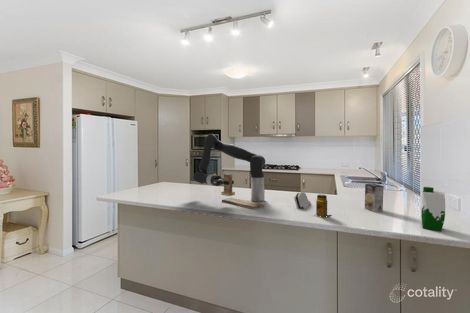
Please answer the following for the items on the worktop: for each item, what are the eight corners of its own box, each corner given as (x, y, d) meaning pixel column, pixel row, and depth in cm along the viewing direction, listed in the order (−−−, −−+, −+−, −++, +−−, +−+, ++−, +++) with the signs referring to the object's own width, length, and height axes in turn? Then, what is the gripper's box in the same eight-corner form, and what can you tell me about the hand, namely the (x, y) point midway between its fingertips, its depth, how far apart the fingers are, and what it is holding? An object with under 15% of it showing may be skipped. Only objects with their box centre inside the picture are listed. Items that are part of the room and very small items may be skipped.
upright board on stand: (227, 193, 174) (227, 173, 173) (234, 194, 169) (234, 174, 168) (221, 194, 170) (221, 174, 169) (228, 196, 165) (228, 175, 164)
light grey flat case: (304, 209, 160) (299, 194, 161) (297, 210, 163) (292, 195, 164) (311, 203, 174) (306, 189, 176) (304, 205, 177) (300, 191, 178)
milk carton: (421, 224, 130) (423, 185, 129) (444, 228, 124) (446, 187, 123) (420, 228, 123) (421, 188, 122) (443, 232, 117) (445, 190, 116)
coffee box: (363, 208, 161) (364, 183, 160) (372, 208, 162) (373, 183, 161) (374, 212, 152) (374, 186, 151) (383, 211, 153) (384, 185, 152)
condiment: (313, 215, 146) (313, 195, 145) (320, 212, 152) (320, 193, 151) (325, 218, 141) (325, 197, 140) (332, 215, 146) (332, 195, 146)
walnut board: (231, 199, 188) (231, 197, 188) (263, 206, 168) (263, 203, 167) (221, 201, 181) (221, 199, 181) (253, 209, 160) (253, 206, 160)
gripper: (206, 175, 173) (223, 178, 162) (221, 174, 184) (238, 176, 172) (206, 186, 174) (223, 189, 162) (221, 184, 184) (238, 187, 172)
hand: (230, 182), depth 167 cm, fingers closed on upright board on stand, 4 cm apart
